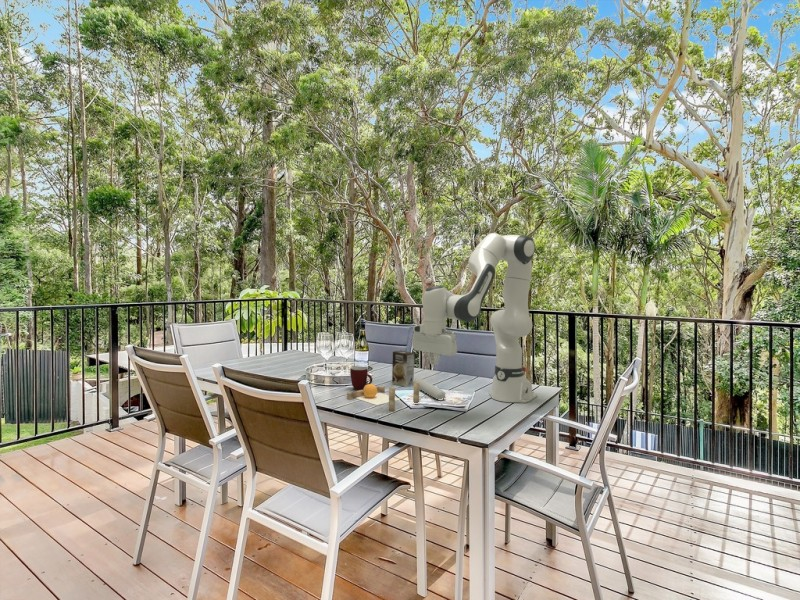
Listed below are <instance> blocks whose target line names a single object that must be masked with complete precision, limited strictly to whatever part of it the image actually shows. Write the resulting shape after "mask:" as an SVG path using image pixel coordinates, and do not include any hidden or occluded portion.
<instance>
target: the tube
mask: <svg viewBox="0 0 800 600" xmlns="http://www.w3.org/2000/svg"><path fill="white" fill-rule="evenodd" d="M414 382H419V391H421V390H422V392H423V391H424V392H423V393H425V394H426V393H427V395H428V394H429V395H428V396H430V395H431V396H433V397H435V398H437V399H442V398H445V399H446V392H445V391H444V390H442V389H441V388H439V387H437V386H435V385H433V384H431V383H430V382H428V381H426V380H424V379H423V378H421V377H416V378H414V381H413V383H414ZM431 396H430V397H431ZM433 397H432V398H433Z"/></svg>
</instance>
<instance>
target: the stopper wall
mask: <svg viewBox="0 0 800 600" xmlns="http://www.w3.org/2000/svg"><path fill="white" fill-rule="evenodd" d="M376 388H377V393H385V392H386V390H385V389H386V387H385V386H383V385H380V386H376ZM363 390H364V389H363ZM363 390H359V391H358V390H354V391H351V392H347V393H346V399H347V400H349V399H350V400H355V399H356V398H357V397H362V396H365V395H364V392H363ZM354 398H355V399H354Z"/></svg>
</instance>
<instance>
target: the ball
mask: <svg viewBox="0 0 800 600" xmlns="http://www.w3.org/2000/svg"><path fill="white" fill-rule="evenodd" d="M376 387H377V386H376V385H375V384H373V383H371V384H368V385H365V387H364V389H363V392H364V395H365V396H366V397H368V398H373V397H374V396H375V395H376V394H377V388H376Z"/></svg>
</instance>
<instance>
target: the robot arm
mask: <svg viewBox="0 0 800 600" xmlns="http://www.w3.org/2000/svg"><path fill="white" fill-rule="evenodd" d="M535 251H536V243H535V242H534V239H533V238H532V237H531V236H528V235H525V234H524V235H523V234H522V235H521V234H520V235H519V234H505V235H501V234H498V233H497V232H491V233H488V234H487V235H485V236H484V237H483V239H482V240H481V241H480V242H479V243H478V244H477V245H476V247H475V248H474V250H473V251H472V252H471V254H470V256H469V259H468V262H467V263H468V268H469V270H470V271H471V272H472V273H473V275H475V276H476V279H475V281H474V283H473V285H472V287H471V289H470V290H469V291H468V292H467V293H465V294H456V293H455V294H454V293H452V292H451V291H449V290H448V289H446V287H445V286H443V285H435V286H434V285H432V286H428V287H427V288H426V289H425V290H424V292H423V297H422V298H423V299H422V312H423V318H422V323H420V324H417V325H414V326H412V331H413V334H412V338H411V339H412V341H411V342H412V348H413V350H414V351H419V352H424V353H425V352H426V354H427V357H428V360H429V364H430V365H435V366H437V365H439V360H440V358H441V357H442V355H444V356H449V357H451V356H456V355H457V353H458V345H457V335H456V333H455V332H454V331H453V330H450V329H449V330H447V319H450V320H451V319H452V320H458V321H461V322H464V323H472V322H474V321H475V320H477V318H478V317H479V315H480V313H481V310H482V306H483V303H484V301H485V298H486V296H487V294H488V292H489V290H490V288H491V286H492V284H493V281H494V279H495V276H496V267H497V266H498V264H499V263H500V261H506V263H507V268H506V271H505V275H504V280H503V286H502V292H501V294H502V295H501V296H502V298H503V302H504V309H499V310H495V311H494V312H493V313H492V314H491V316H490V319H489V322H490V326H491V328H492V330H493V336H494V342H495V347H496V349H495V351H496V352H495V353H496V355H495V356H496V357H495V366H494V374H495V375H494V376H493V377H492V383H491V391H489V395H490V397H491V398H492V399H493V400H496V401H499V402H503V403H521V404H522V403H523V404H525V403H527V404H528V403H529V402H530V401H532V400H534V399H535V398H537V397H538V394H537V393H536V392H534V391H533V385H532V382H531V381H530V380H529V379H527V377H526V376H525V372H527V370H528V368H527V367H526V366H522V365H523V347H521V344H520V341H519V338H521V337H527V336H528V335H529V334H530V333H531V332H532V329H533V321H532V319H531V317H530V314H529V313H530V311H529V293H530V287H531V281H532V271H533V264H532V258H533V257H534V254H535ZM434 356H435V357H434Z"/></svg>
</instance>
